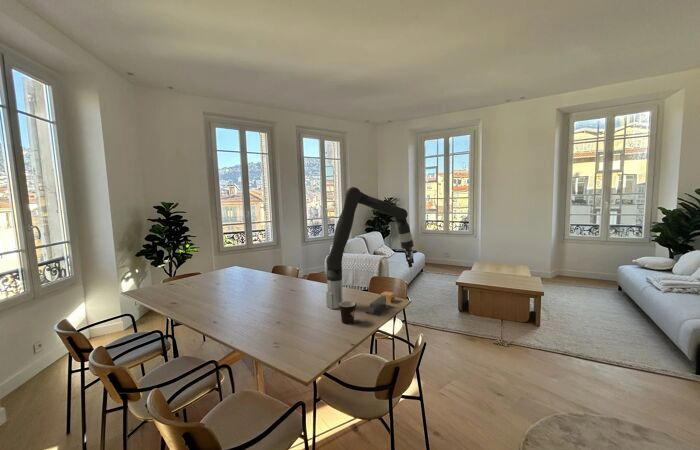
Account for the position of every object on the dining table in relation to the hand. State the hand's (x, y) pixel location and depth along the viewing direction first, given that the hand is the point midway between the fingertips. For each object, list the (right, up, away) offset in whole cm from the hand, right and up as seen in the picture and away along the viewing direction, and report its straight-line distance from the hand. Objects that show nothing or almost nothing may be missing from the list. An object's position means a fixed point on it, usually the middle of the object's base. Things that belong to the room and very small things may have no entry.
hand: (411, 265), depth 189 cm
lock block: (-14, -24, +8) cm, 29 cm away
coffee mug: (-38, -28, -23) cm, 52 cm away
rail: (-21, -26, -7) cm, 34 cm away
